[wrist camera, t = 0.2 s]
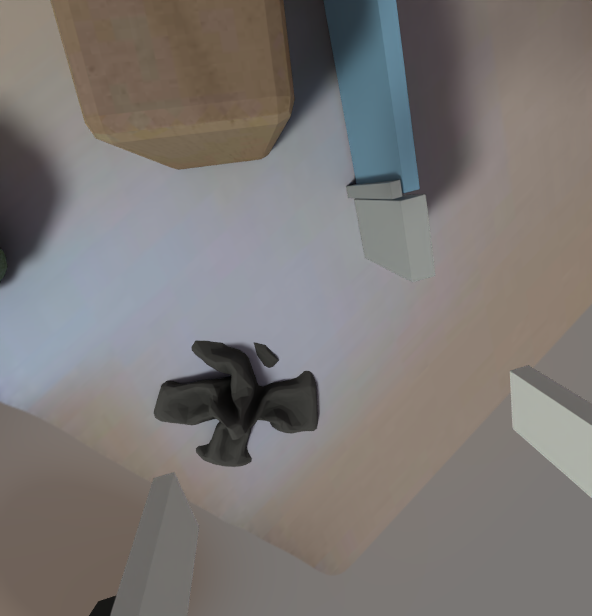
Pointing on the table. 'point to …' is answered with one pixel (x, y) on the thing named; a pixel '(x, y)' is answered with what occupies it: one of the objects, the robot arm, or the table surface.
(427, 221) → the wall frame
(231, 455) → the cloth
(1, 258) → the vegetable
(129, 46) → the wooden block
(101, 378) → the table surface
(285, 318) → the table surface
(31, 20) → the table surface
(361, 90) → the door
